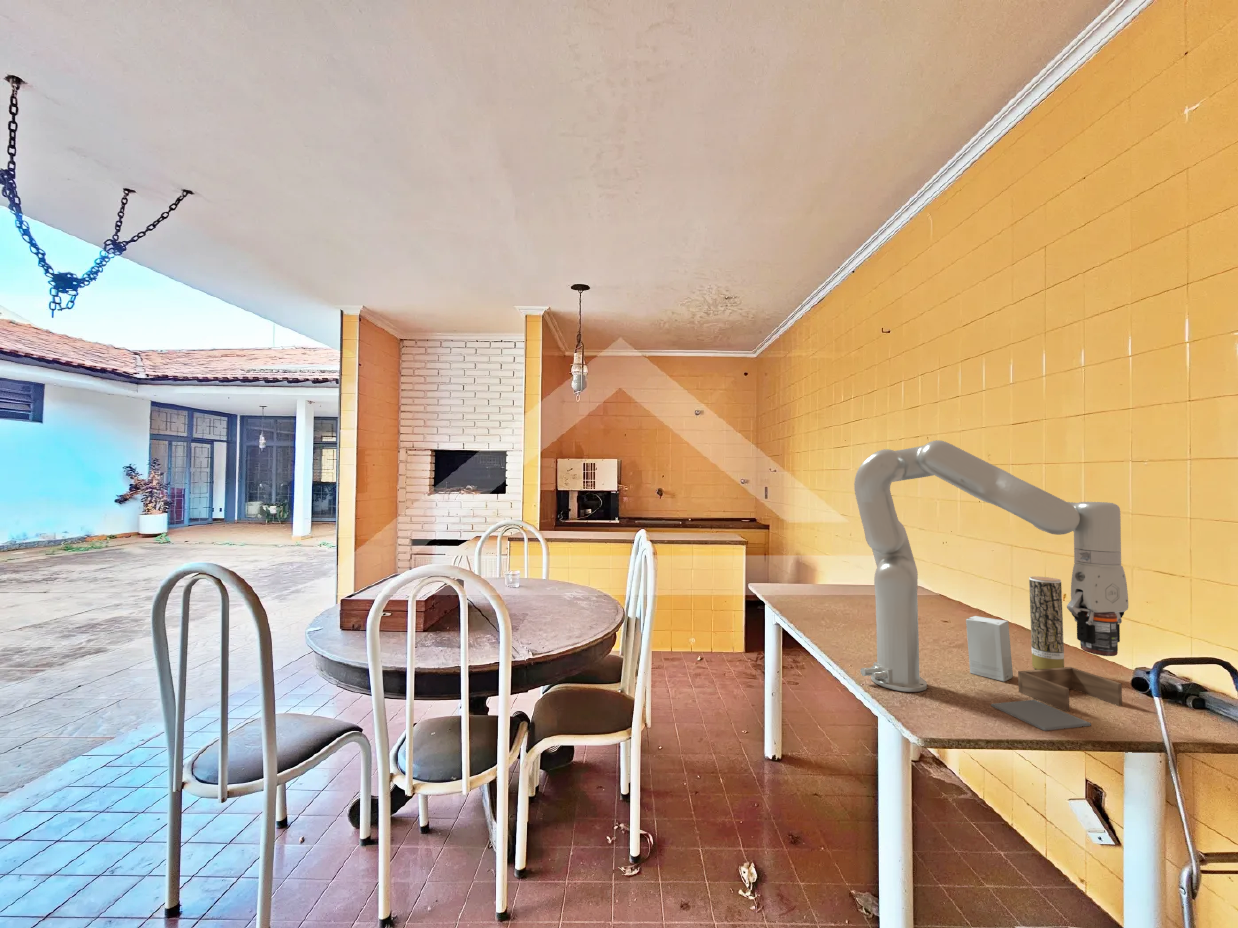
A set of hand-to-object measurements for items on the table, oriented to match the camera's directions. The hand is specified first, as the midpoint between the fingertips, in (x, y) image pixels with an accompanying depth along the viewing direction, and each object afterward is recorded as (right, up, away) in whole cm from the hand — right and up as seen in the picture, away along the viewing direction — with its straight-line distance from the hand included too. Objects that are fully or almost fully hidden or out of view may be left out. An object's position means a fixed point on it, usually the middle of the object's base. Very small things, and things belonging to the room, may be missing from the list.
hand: (1098, 640), depth 110 cm
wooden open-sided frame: (+3, -17, +10) cm, 20 cm away
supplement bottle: (0, -3, 0) cm, 3 cm away
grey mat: (-12, -17, +1) cm, 21 cm away
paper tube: (+13, -18, +28) cm, 36 cm away
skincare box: (-5, -18, +25) cm, 31 cm away
